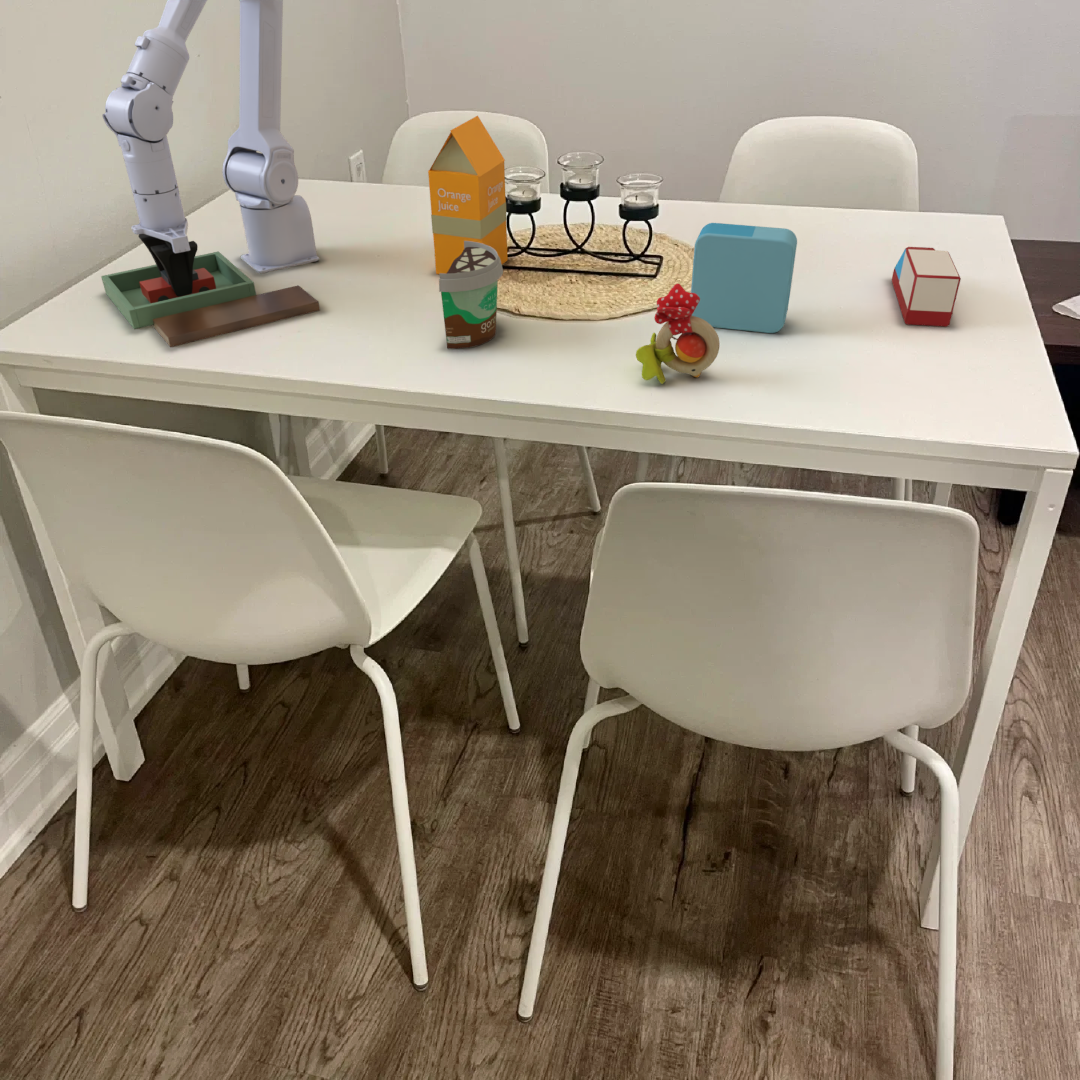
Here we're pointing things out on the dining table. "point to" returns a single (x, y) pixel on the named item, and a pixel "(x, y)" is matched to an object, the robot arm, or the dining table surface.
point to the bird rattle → (692, 345)
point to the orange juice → (467, 194)
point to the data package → (743, 276)
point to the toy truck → (926, 286)
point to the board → (235, 315)
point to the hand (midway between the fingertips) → (178, 288)
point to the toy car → (163, 290)
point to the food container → (471, 296)
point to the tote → (142, 312)
